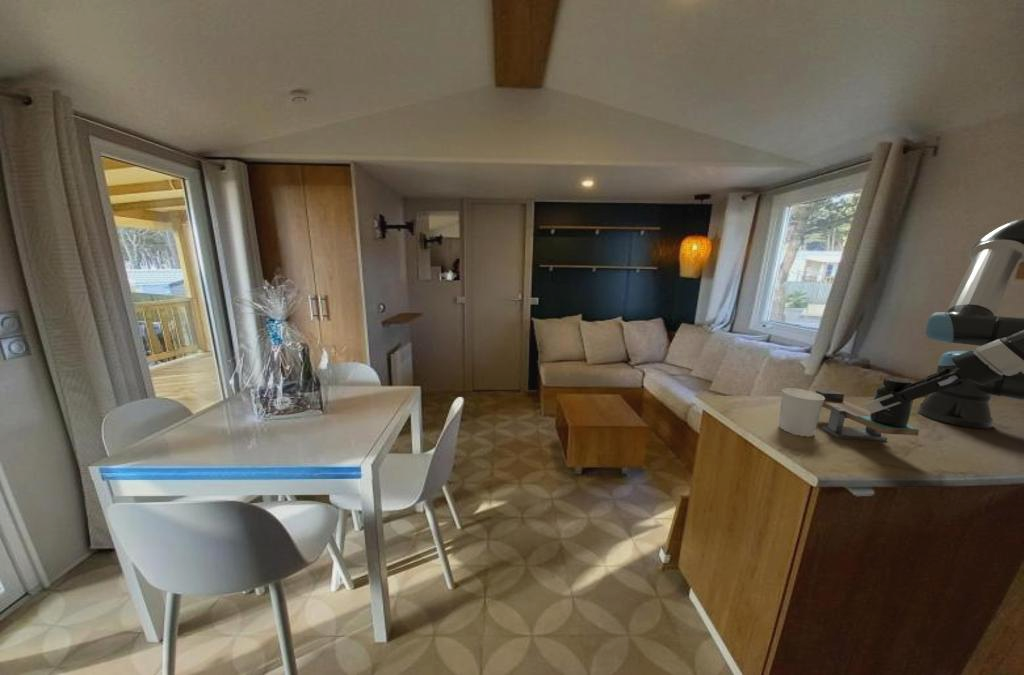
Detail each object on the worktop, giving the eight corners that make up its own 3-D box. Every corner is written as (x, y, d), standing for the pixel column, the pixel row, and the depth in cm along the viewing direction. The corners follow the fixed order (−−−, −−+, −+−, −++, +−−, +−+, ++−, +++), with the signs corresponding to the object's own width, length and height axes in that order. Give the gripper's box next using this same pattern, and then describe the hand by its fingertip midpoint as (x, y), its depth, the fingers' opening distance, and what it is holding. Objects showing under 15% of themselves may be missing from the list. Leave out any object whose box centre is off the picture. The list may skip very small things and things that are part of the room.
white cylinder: (817, 430, 103) (825, 393, 101) (816, 441, 96) (825, 402, 94) (777, 420, 110) (783, 385, 107) (774, 430, 102) (780, 393, 100)
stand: (867, 431, 102) (873, 407, 101) (886, 441, 97) (893, 415, 95) (821, 428, 104) (826, 404, 102) (837, 438, 98) (843, 412, 96)
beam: (837, 404, 111) (839, 391, 110) (918, 438, 86) (922, 421, 86) (809, 403, 112) (811, 389, 111) (881, 436, 87) (884, 419, 87)
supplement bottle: (871, 422, 90) (879, 380, 88) (868, 415, 95) (876, 374, 93) (910, 430, 85) (919, 385, 83) (905, 422, 90) (914, 379, 88)
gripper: (1004, 384, 69) (873, 426, 85) (1006, 371, 80) (890, 410, 96) (969, 354, 72) (849, 400, 89) (975, 345, 83) (868, 387, 99)
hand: (871, 405), depth 92 cm, fingers closed on supplement bottle, 7 cm apart
